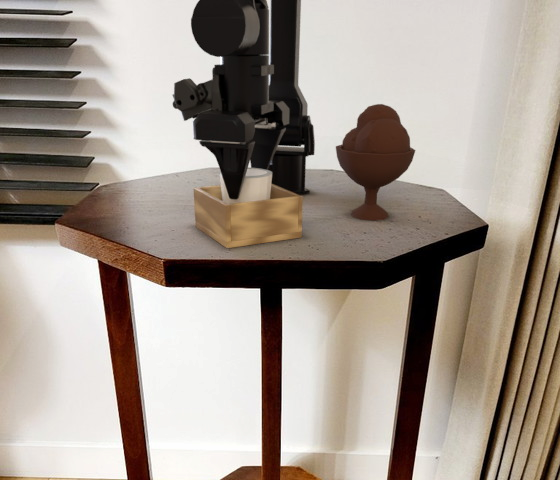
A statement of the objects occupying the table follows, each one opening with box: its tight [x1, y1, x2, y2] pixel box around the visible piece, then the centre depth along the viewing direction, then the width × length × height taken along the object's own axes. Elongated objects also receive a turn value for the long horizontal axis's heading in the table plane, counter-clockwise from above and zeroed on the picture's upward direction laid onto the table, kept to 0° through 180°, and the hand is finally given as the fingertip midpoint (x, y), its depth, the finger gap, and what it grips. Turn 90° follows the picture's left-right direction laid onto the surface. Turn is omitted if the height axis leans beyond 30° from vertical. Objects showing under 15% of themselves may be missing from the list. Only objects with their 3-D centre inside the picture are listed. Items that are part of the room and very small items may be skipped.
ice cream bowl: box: [335, 103, 416, 221], centre depth 85 cm, size 11×11×15 cm
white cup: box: [218, 167, 272, 204], centre depth 79 cm, size 7×7×7 cm
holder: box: [192, 183, 304, 249], centre depth 79 cm, size 11×11×5 cm
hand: (246, 191), depth 78 cm, fingers open, 9 cm apart
